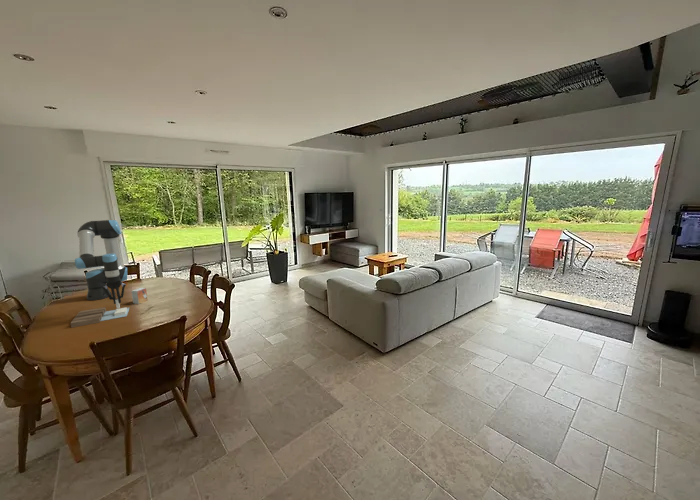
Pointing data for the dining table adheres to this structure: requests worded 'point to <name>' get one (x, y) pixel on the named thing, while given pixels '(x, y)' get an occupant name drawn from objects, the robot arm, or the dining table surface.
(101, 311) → the deck
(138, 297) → the small box
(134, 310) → the dining table surface
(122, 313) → the white flat block
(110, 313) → the mat
